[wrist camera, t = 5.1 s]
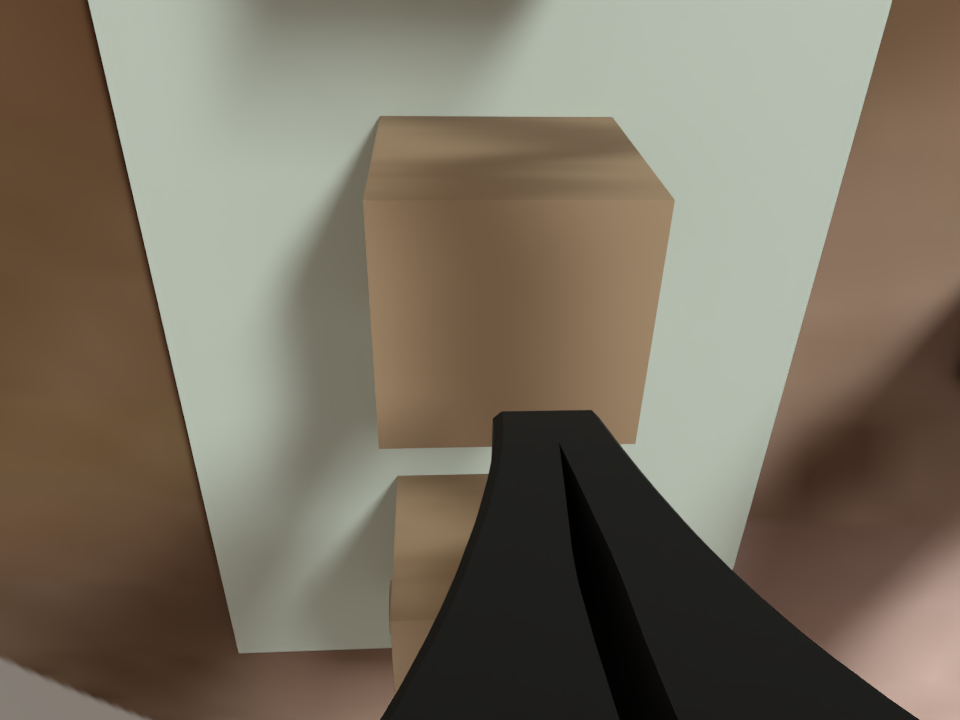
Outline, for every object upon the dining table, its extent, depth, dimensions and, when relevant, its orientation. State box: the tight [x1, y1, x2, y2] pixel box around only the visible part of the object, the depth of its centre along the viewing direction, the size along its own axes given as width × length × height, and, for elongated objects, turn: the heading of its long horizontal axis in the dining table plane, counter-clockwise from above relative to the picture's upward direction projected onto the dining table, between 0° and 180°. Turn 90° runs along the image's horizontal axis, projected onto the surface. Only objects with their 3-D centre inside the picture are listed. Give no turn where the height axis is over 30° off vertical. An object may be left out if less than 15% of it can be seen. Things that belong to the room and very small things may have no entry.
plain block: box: [363, 116, 675, 449], centre depth 16 cm, size 5×5×5 cm
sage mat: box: [88, 0, 892, 653], centre depth 18 cm, size 16×30×1 cm, turn 179°
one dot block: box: [389, 474, 488, 694], centre depth 21 cm, size 5×5×5 cm
